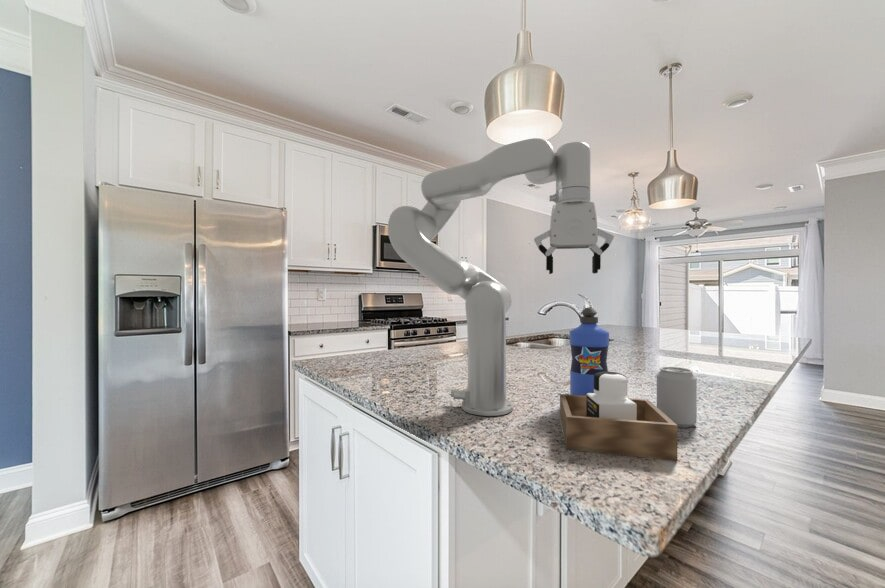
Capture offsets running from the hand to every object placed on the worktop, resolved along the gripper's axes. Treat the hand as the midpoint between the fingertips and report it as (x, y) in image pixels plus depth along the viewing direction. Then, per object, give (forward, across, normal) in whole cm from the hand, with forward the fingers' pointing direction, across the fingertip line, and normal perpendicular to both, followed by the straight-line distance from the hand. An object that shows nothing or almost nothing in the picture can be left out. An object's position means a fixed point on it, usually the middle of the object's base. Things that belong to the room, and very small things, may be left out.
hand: (572, 273), depth 85 cm
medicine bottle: (+33, +6, -11) cm, 35 cm away
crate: (+33, +6, -11) cm, 36 cm away
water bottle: (+34, +5, +10) cm, 35 cm away
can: (+34, +22, +2) cm, 40 cm away
